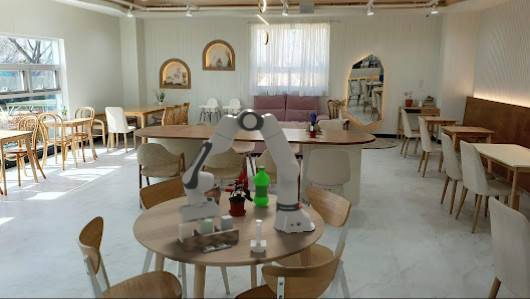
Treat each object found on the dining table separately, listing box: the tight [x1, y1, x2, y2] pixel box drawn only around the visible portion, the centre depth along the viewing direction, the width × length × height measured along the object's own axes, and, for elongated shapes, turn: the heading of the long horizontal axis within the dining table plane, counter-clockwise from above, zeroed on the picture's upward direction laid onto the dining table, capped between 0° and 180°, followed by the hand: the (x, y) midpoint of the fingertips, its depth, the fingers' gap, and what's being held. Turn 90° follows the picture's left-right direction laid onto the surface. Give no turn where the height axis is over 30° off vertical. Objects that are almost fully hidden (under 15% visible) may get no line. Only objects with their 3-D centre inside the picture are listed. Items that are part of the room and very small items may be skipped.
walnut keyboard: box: [176, 225, 240, 254], centre depth 194 cm, size 28×18×6 cm, turn 120°
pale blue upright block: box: [220, 214, 234, 231], centre depth 204 cm, size 5×4×8 cm
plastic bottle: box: [252, 165, 271, 208], centre depth 248 cm, size 10×10×25 cm
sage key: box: [199, 218, 214, 235], centre depth 198 cm, size 5×4×8 cm
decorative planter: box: [203, 183, 222, 206], centre depth 247 cm, size 20×12×14 cm, turn 162°
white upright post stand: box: [250, 219, 267, 254], centre depth 186 cm, size 7×9×15 cm
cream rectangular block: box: [178, 222, 193, 243], centre depth 193 cm, size 5×4×8 cm
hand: (204, 227), depth 200 cm, fingers closed
